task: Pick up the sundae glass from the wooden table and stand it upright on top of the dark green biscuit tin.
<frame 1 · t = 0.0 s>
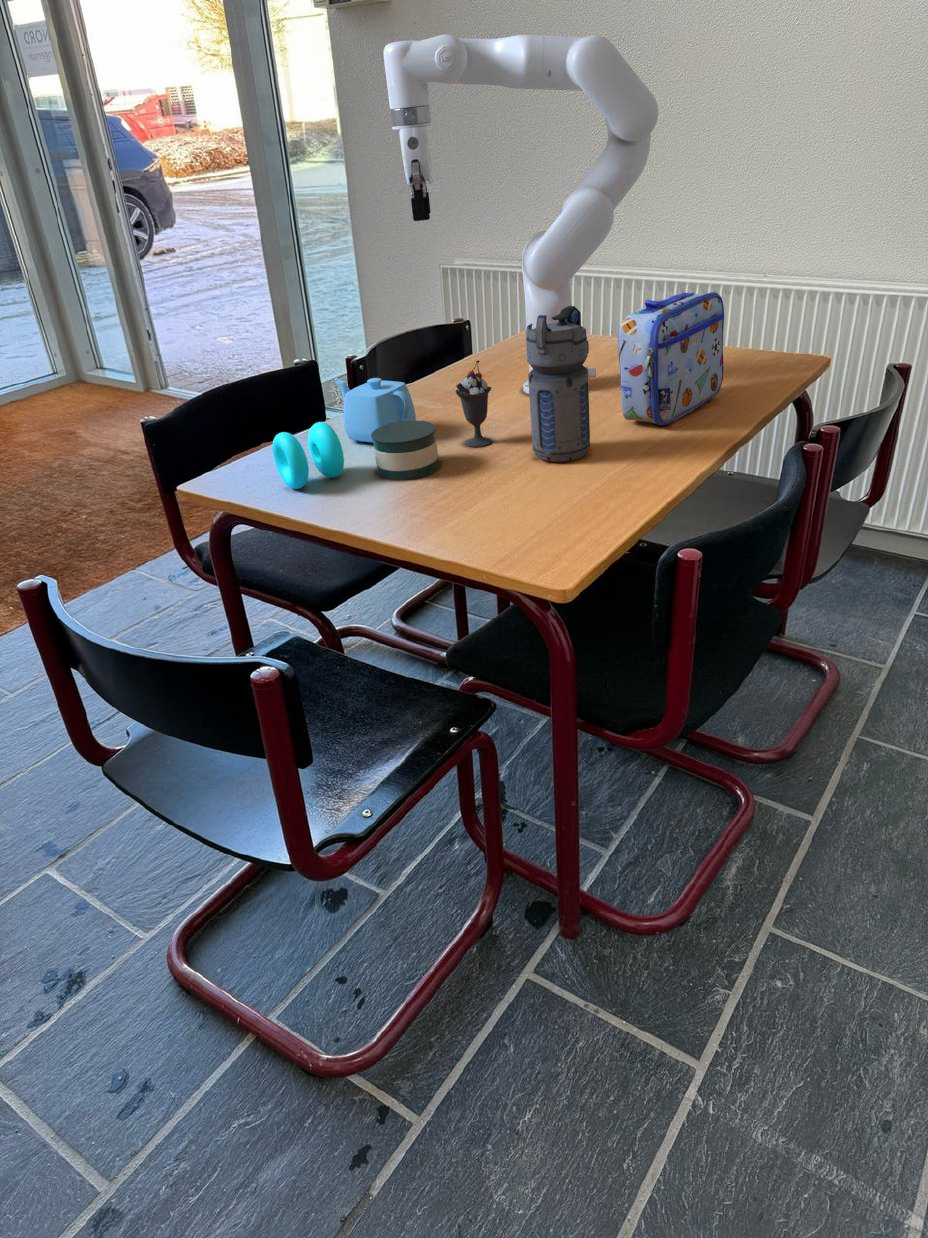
hand: (422, 217, 179), 37 cm above the table, tool pointing down, fingers open, 9 cm apart
beverage bottle: (564, 453, 162), on the table
tin: (408, 468, 163), on the table
sundae: (478, 443, 171), on the table
teapot: (377, 436, 180), on the table
donuts: (313, 482, 162), on the table
lunch box: (671, 412, 175), on the table
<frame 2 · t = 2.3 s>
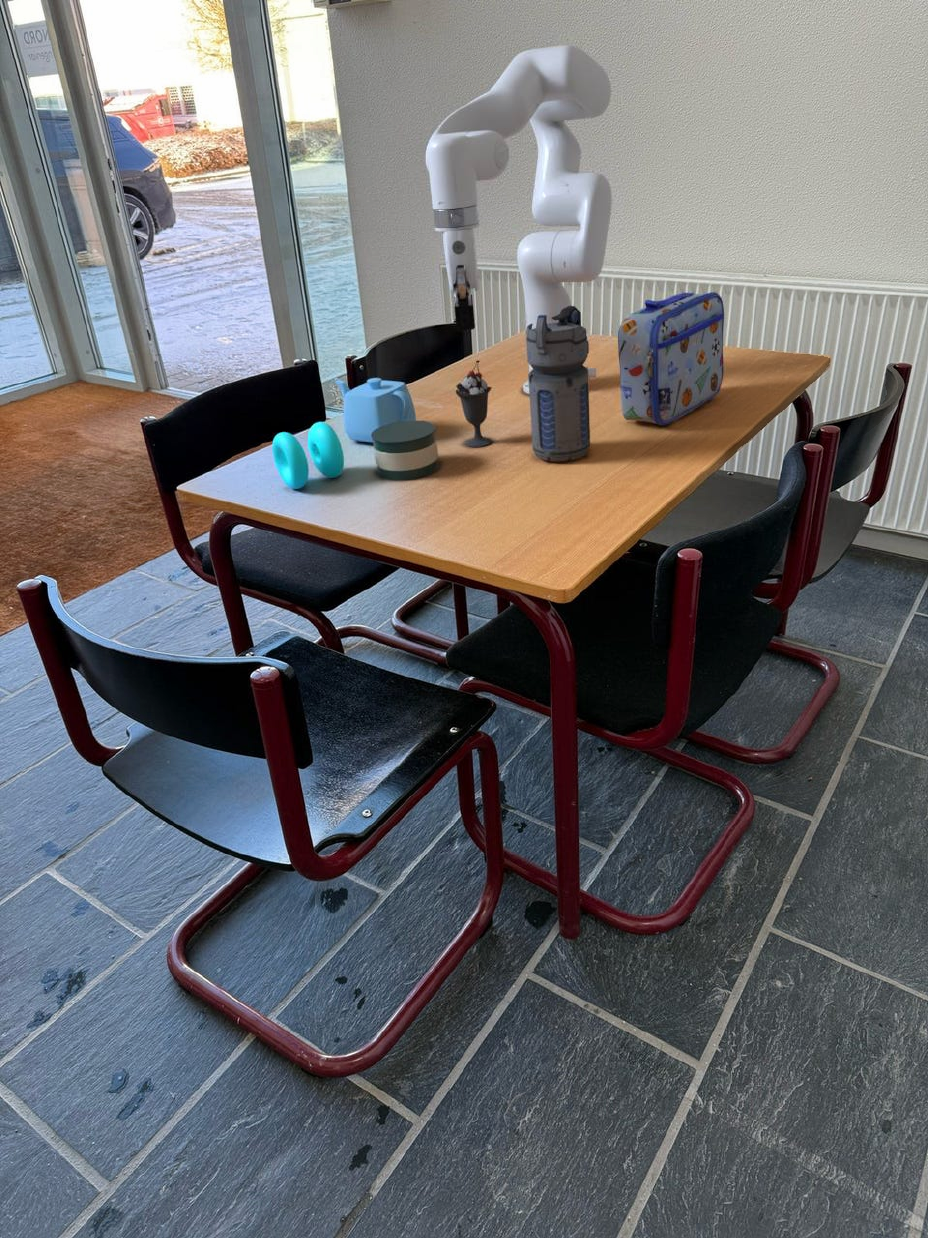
hand: (465, 323, 160), 22 cm above the table, tool pointing down, fingers open, 9 cm apart
nothing on the table moved.
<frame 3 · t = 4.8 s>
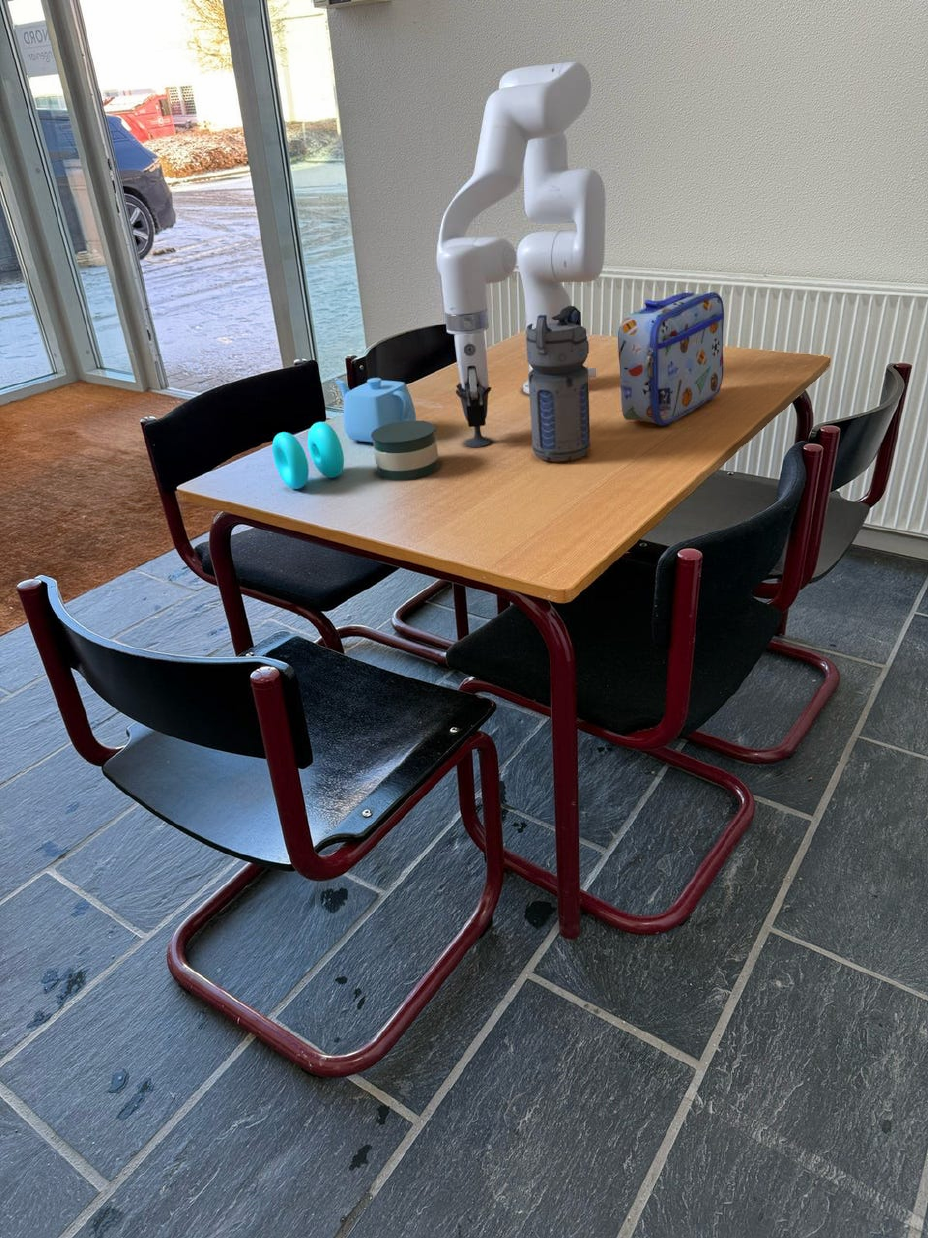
hand: (476, 419, 169), 4 cm above the table, tool pointing down, fingers closed on sundae, 5 cm apart
sundae: (478, 443, 171), on the table, touching gripper
everything else where it was.
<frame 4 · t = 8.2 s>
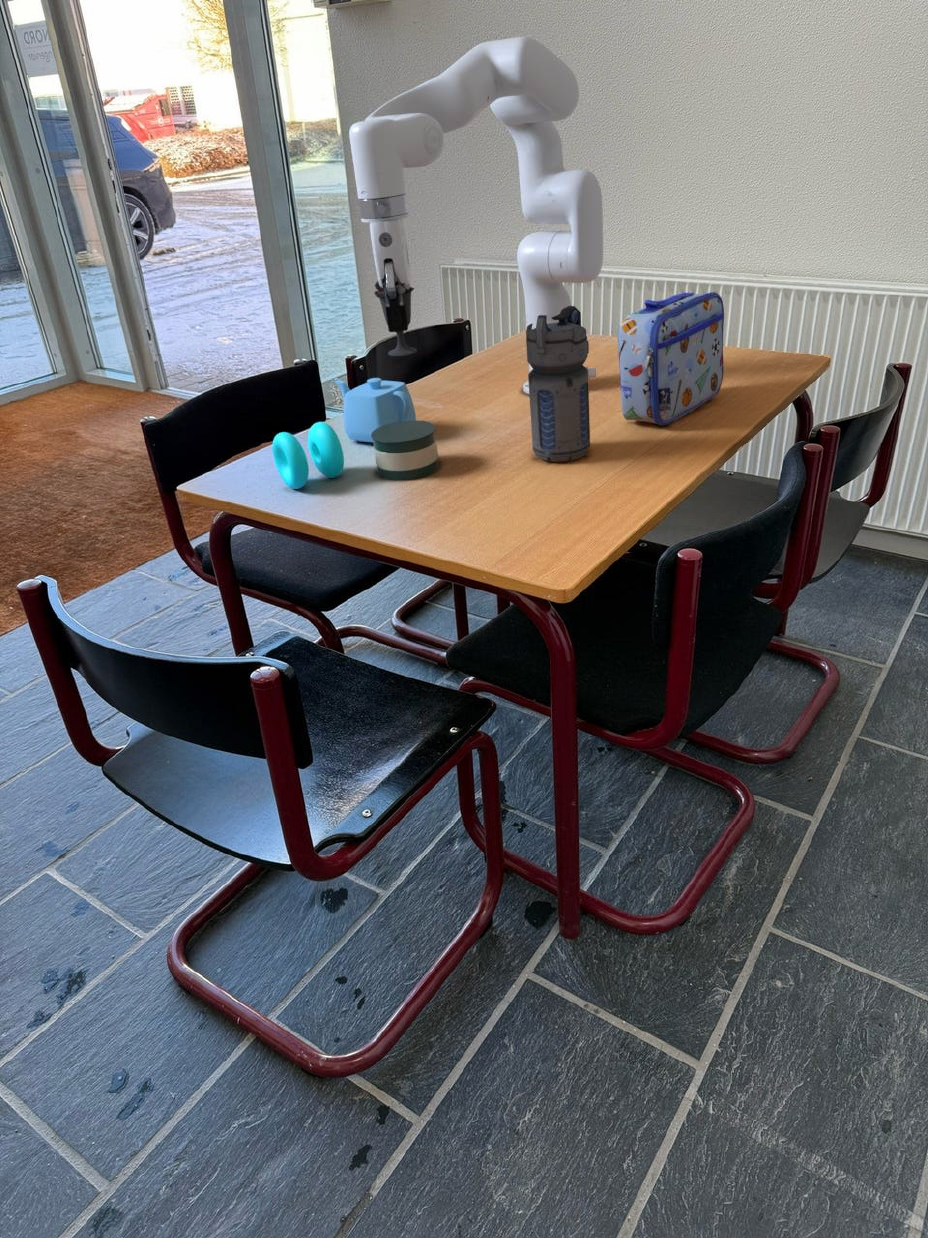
hand: (399, 325, 152), 25 cm above the table, tool pointing down, fingers closed on sundae, 5 cm apart
sundae: (402, 353, 154), point 20 cm above the table, touching gripper
everything else where it was.
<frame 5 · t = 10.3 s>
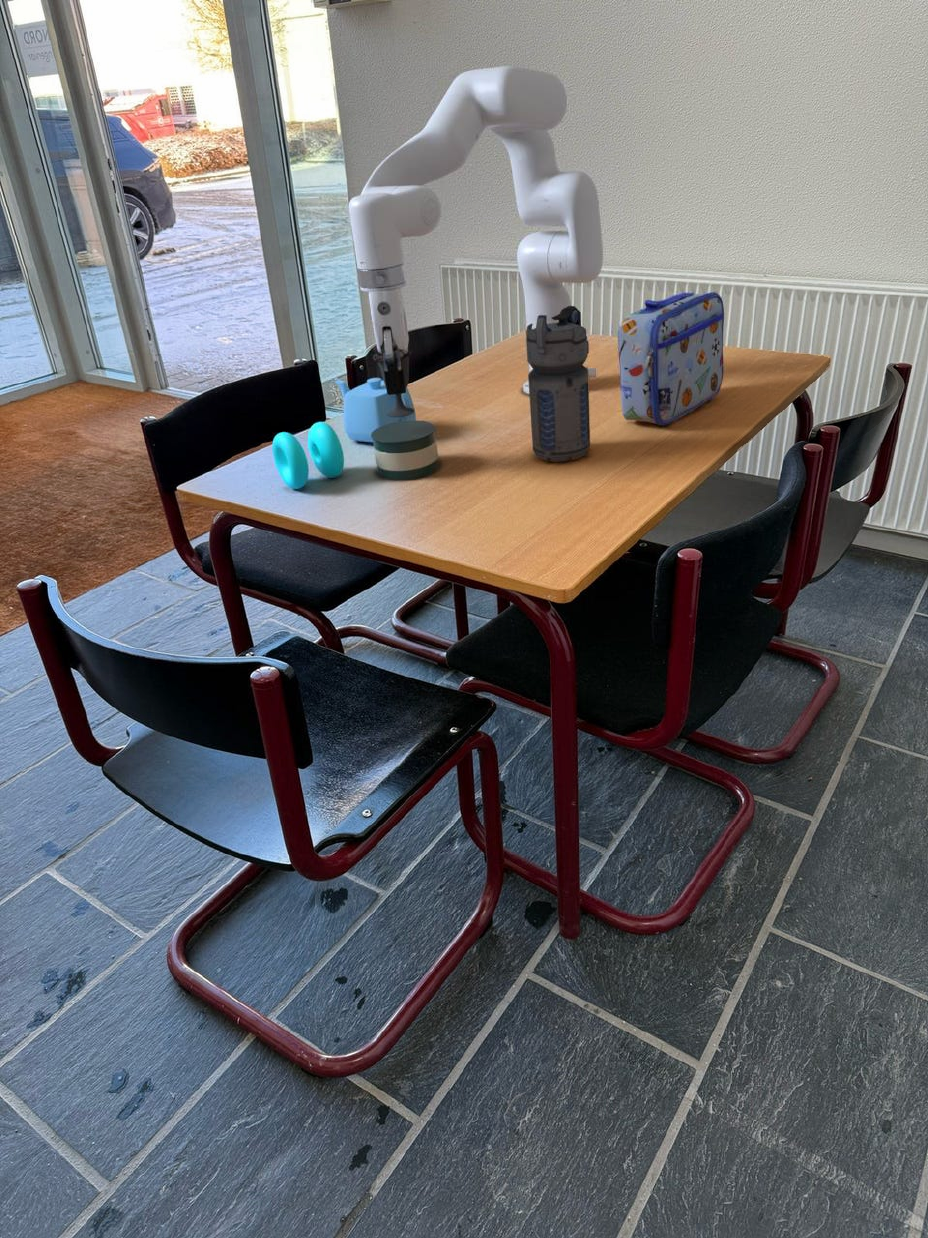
hand: (397, 387, 155), 15 cm above the table, tool pointing down, fingers closed on sundae, 5 cm apart
sundae: (400, 413, 158), point 10 cm above the table, touching gripper
everything else where it was.
when the fingers open (11 cm above the table, at t = 11.6 s): sundae stays where it is, resting on tin.
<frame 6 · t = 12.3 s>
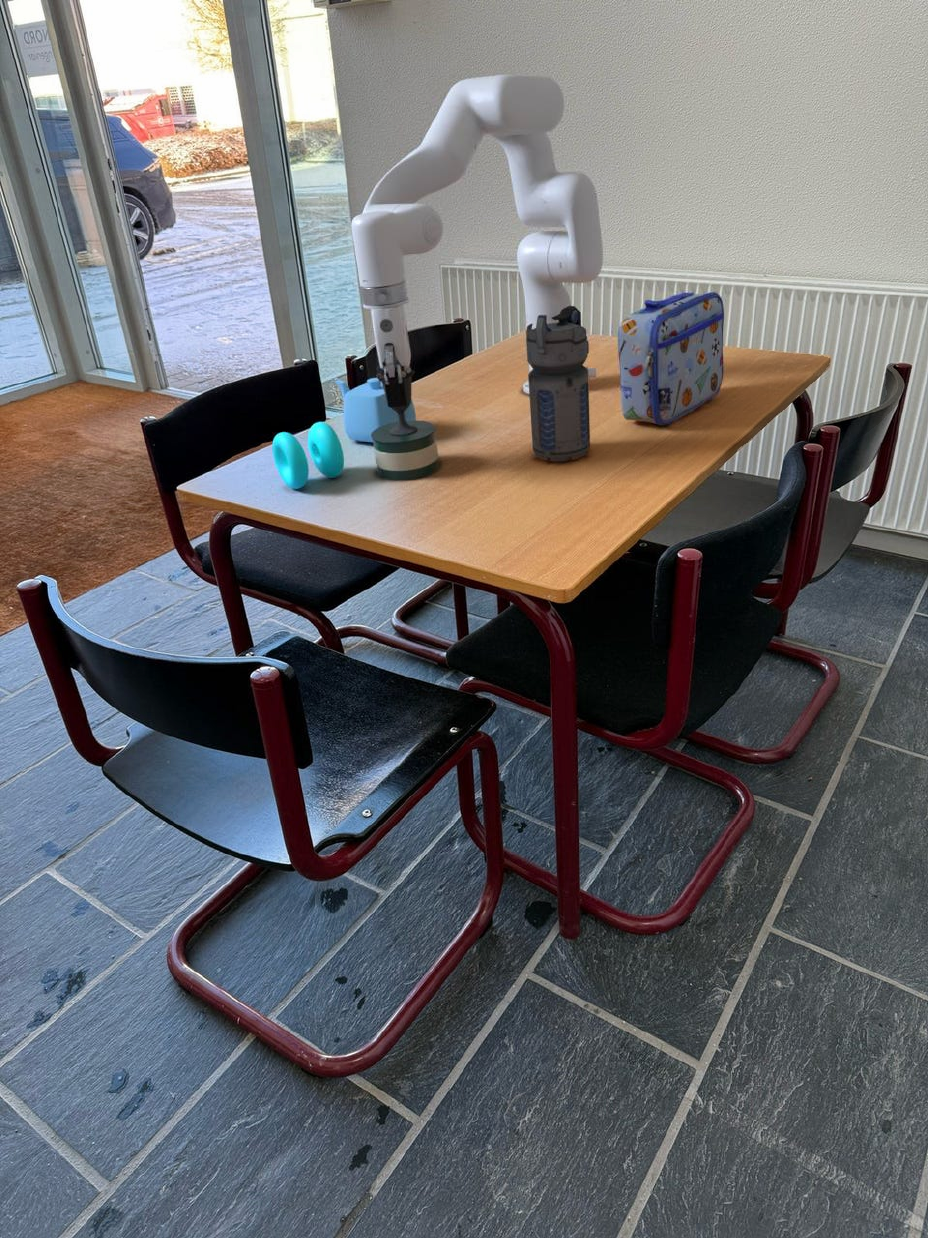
hand: (398, 397, 156), 13 cm above the table, tool pointing down, fingers open, 9 cm apart
tin: (408, 468, 163), on the table, touching sundae
sundae: (403, 431, 159), point 7 cm above the table, touching tin
everything else where it was.
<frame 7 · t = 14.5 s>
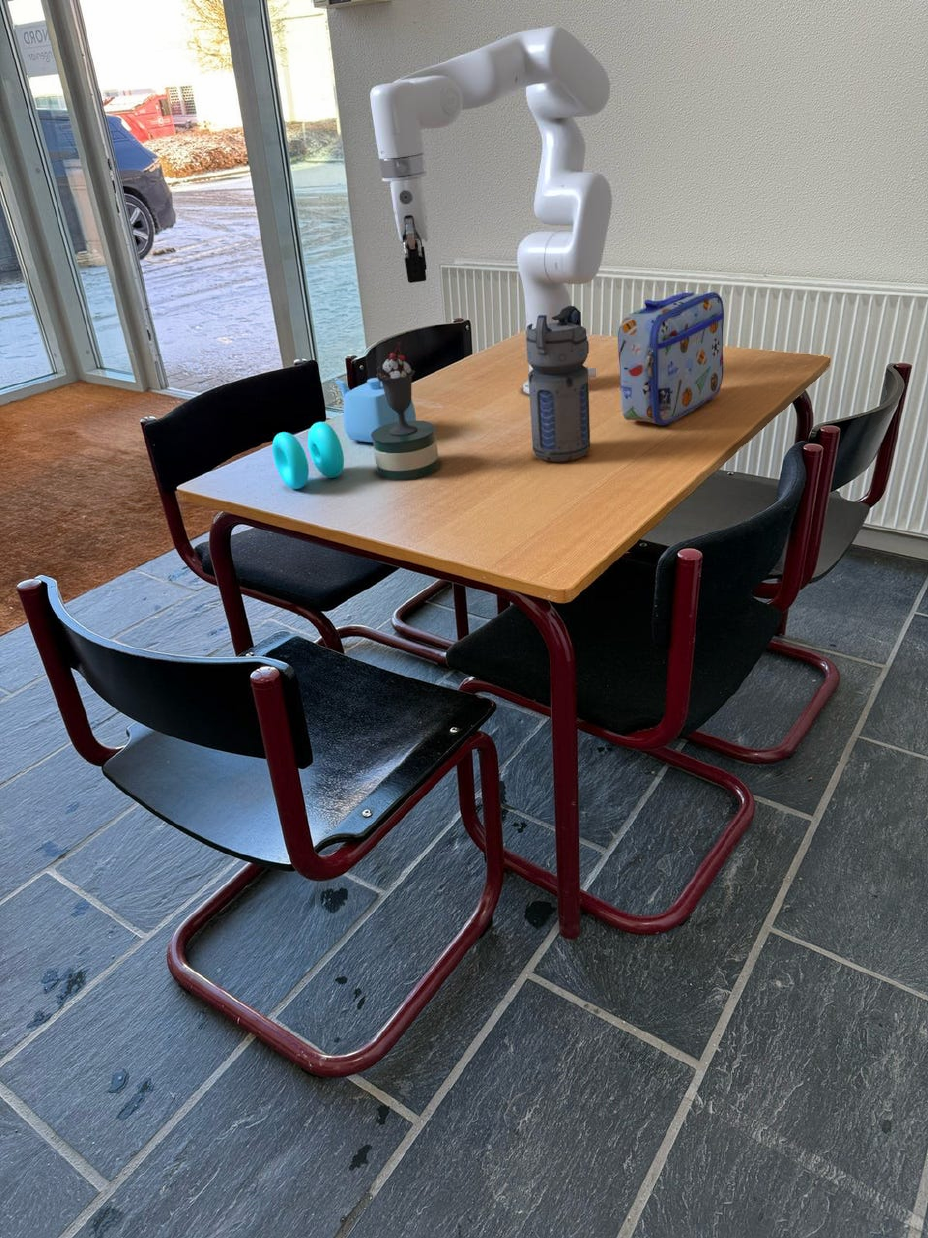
hand: (417, 275, 159), 30 cm above the table, tool pointing down, fingers open, 9 cm apart
nothing on the table moved.
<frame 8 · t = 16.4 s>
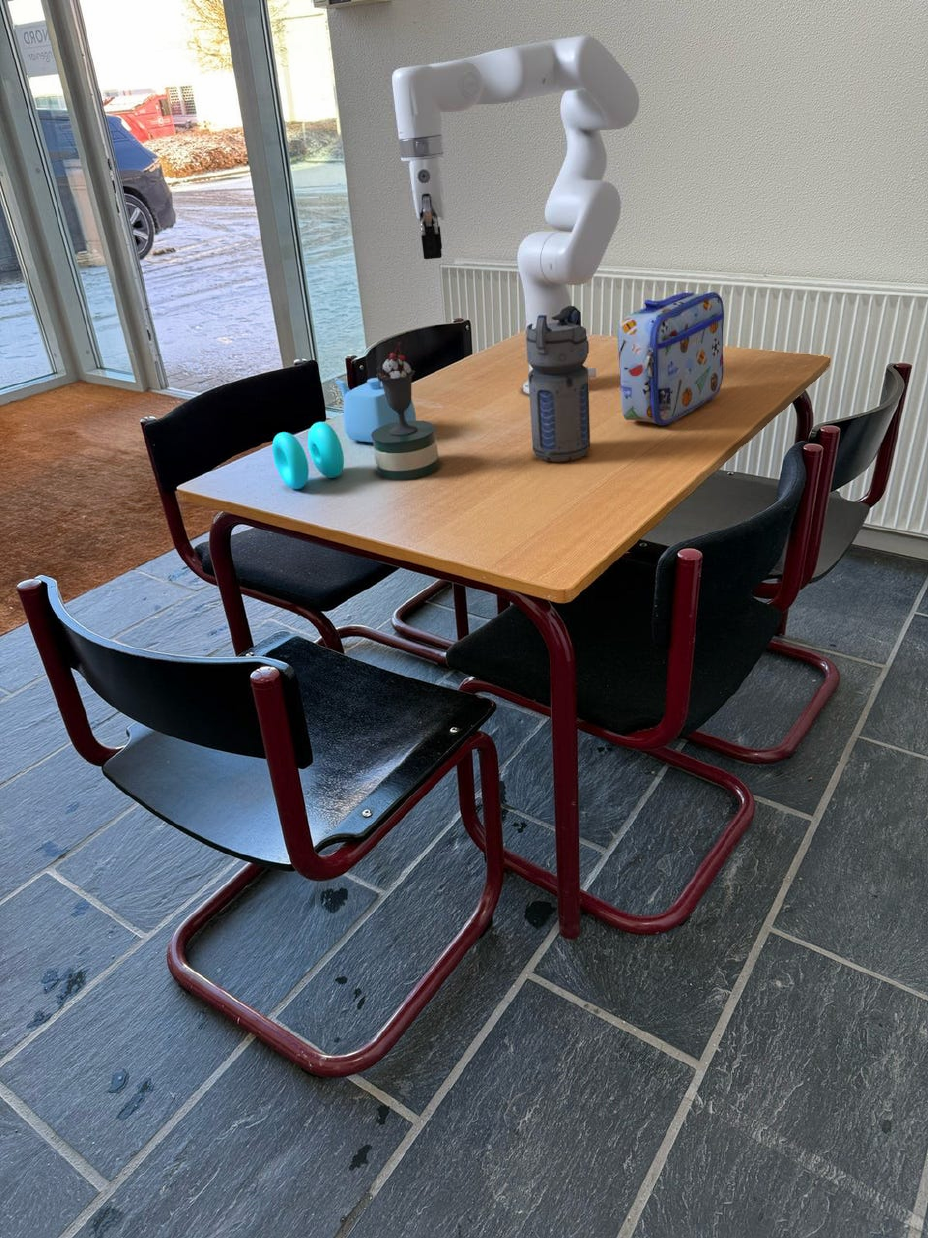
hand: (433, 253, 165), 32 cm above the table, tool pointing down, fingers open, 9 cm apart
nothing on the table moved.
at the end: sundae 0.1 cm off-centre on the tin, point 6.8 cm above the tin's base; sundae tilted 0° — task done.
